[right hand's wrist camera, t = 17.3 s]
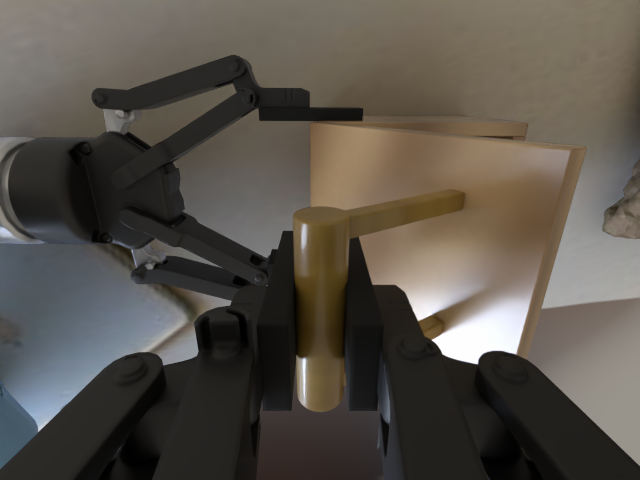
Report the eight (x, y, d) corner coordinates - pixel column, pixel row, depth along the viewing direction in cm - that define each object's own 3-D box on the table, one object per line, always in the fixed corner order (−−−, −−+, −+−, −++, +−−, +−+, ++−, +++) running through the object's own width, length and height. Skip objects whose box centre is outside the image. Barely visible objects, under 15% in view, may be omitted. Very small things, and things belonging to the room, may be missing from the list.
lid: (588, 146, 10) (393, 175, 6) (514, 406, 14) (363, 531, 10) (322, 122, 21) (186, 126, 17) (321, 273, 24) (210, 307, 20)
